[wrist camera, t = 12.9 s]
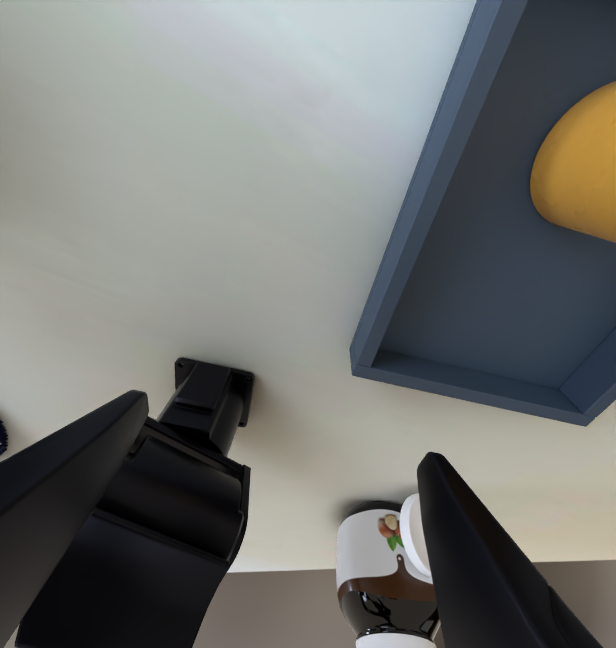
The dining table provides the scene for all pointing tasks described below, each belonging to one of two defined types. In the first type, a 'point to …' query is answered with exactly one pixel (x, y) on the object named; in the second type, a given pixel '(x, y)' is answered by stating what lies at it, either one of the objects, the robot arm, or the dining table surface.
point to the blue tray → (500, 231)
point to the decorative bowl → (2, 439)
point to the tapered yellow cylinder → (580, 168)
